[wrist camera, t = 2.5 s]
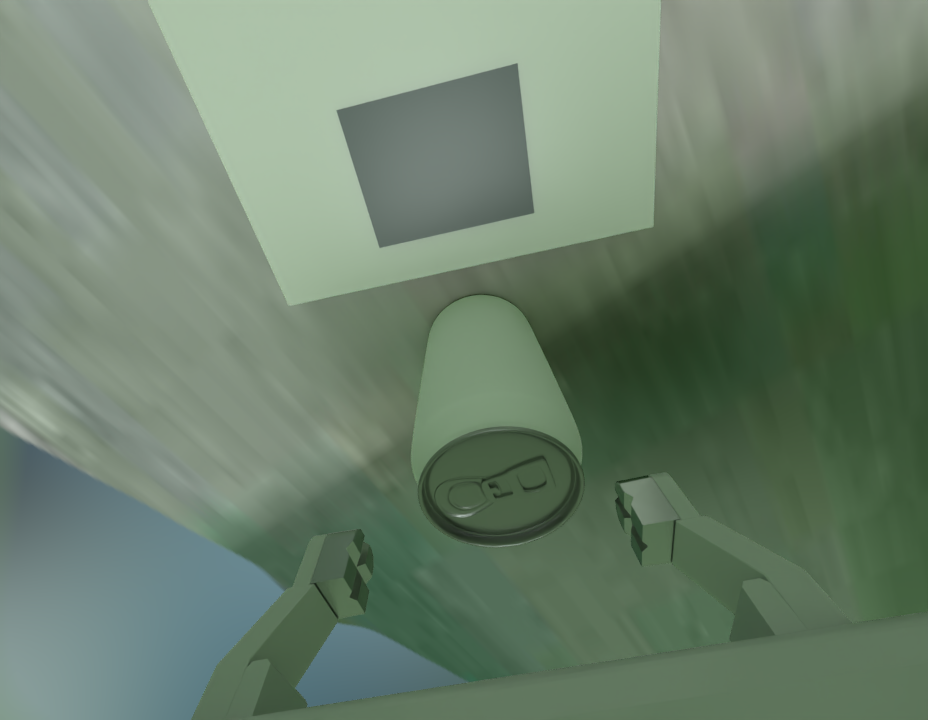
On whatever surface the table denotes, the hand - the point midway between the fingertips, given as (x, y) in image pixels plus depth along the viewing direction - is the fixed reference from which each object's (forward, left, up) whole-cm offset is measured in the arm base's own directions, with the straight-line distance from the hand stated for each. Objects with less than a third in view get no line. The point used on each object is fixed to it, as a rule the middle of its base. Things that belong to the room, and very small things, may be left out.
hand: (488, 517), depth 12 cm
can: (-1, 0, -13) cm, 13 cm away
